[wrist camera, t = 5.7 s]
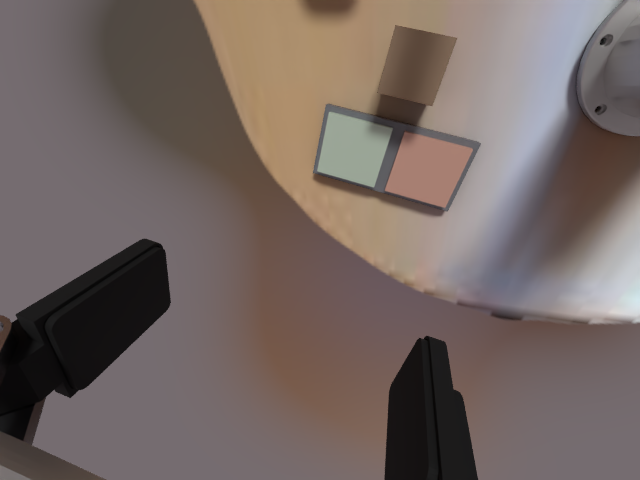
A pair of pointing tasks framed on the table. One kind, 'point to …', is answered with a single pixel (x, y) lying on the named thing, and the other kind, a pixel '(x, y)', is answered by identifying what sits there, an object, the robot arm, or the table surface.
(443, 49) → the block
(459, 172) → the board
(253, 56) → the table surface
